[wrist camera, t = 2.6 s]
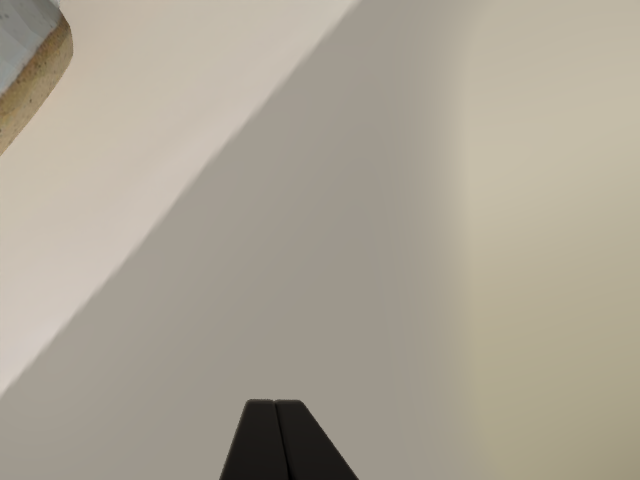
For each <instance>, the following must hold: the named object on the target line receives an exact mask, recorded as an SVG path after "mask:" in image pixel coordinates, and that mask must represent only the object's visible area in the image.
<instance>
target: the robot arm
mask: <svg viewBox="0 0 640 480" xmlns="http://www.w3.org/2000/svg"><path fill="white" fill-rule="evenodd" d="M219 480H359V479H358V478H357V476H356V475H355V474H354V472H353V471H352V469H351V468H350V467H349V465H348V464H347V463H346V461H345V460H344V458H343V457H342V456H341V454H340V453H339V451H338V450H337V449H336V448H335V446H334V445H333V443H332V442H331V440H330V439H329V438H328V437H327V435H326V434H325V432H324V431H323V430H322V428H321V427H320V426H319V424H318V422H317V421H316V420H315V419H314V417H313V416H312V414H311V413H310V412H309V410H308V409H307V407H306V406H305V405H304V403H303V402H301V401H300V400H275V401H273V400H270V399H267V400H266V399H250V400H248V401H247V402H246V404H245V406H244V409H243V412H242V415H241V418H240V421H239V424H238V427H237V429H236V432H235V435H234V438H233V441H232V444H231V447H230V450H229V453H228V455H227V458H226V461H225V464H224V468H223V470H222V473H221V476H220V479H219Z"/></svg>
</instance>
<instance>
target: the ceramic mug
mask: <svg viewBox="0 0 640 480" xmlns="http://www.w3.org/2000/svg"><path fill="white" fill-rule="evenodd" d="M59 5H60V0H0V156H1V155H2V154H3V152H4V151H5V150H6V149H7V148H8V146H9V145H10V144H11V143H12V141H13V140H14V139H15V138H16V137H17V135H18V134H19V133H20V132H21V130H22V129H23V128H24V127H25V126H26V124H27V123H28V122H29V121H30V119H31V118H32V117H33V116H34V115H35V113H36V112H37V111H38V109H39V108H40V106H41V105H42V104H43V102H44V101H45V100H46V98H47V97H48V96H49V94H50V93H51V91H52V90H53V89H54V87H55V86H56V84H57V83H58V81H59V80H60V78H61V77H62V75H63V74H64V72H65V70H66V69H67V67H68V66H69V64H70V61H71V58H72V56H73V40H72V34H71V29H70V26H69V24H68V22H67V21H66V19H65V18H64V16H63V14H62V13H61V11H60V9H59Z"/></svg>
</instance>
